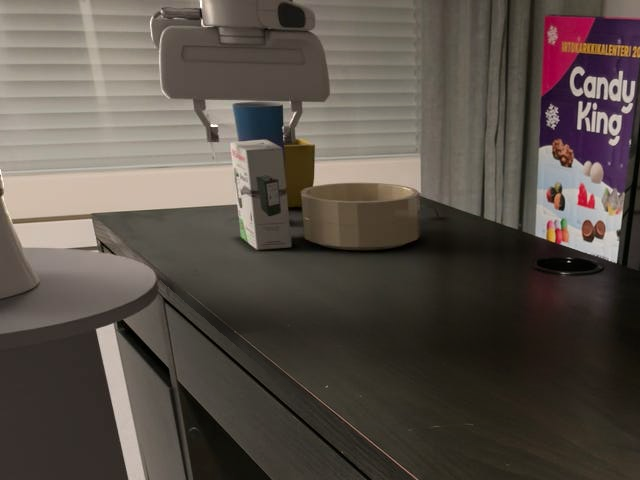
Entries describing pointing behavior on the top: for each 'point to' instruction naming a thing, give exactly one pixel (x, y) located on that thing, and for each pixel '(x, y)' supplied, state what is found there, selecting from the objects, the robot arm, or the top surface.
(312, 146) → the flower pot
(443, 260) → the top surface
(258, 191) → the ink box
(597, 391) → the top surface
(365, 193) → the bowl
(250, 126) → the cup
